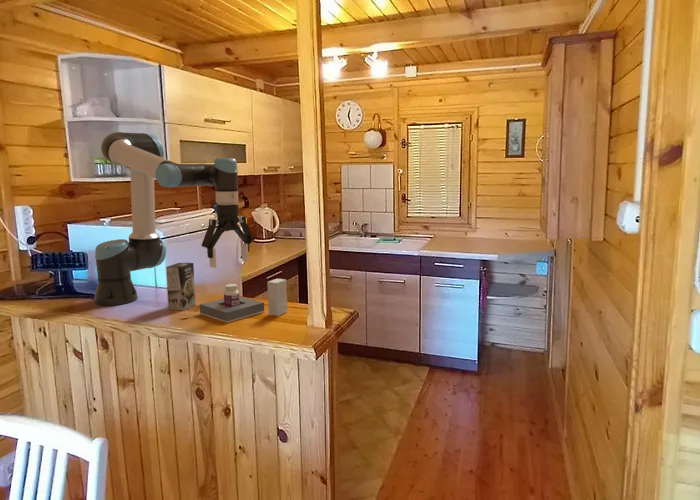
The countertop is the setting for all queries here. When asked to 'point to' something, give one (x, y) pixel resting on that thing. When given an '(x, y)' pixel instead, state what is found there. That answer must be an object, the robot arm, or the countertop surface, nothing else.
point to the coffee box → (180, 286)
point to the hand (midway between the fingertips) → (229, 264)
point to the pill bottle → (231, 296)
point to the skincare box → (277, 297)
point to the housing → (231, 309)
